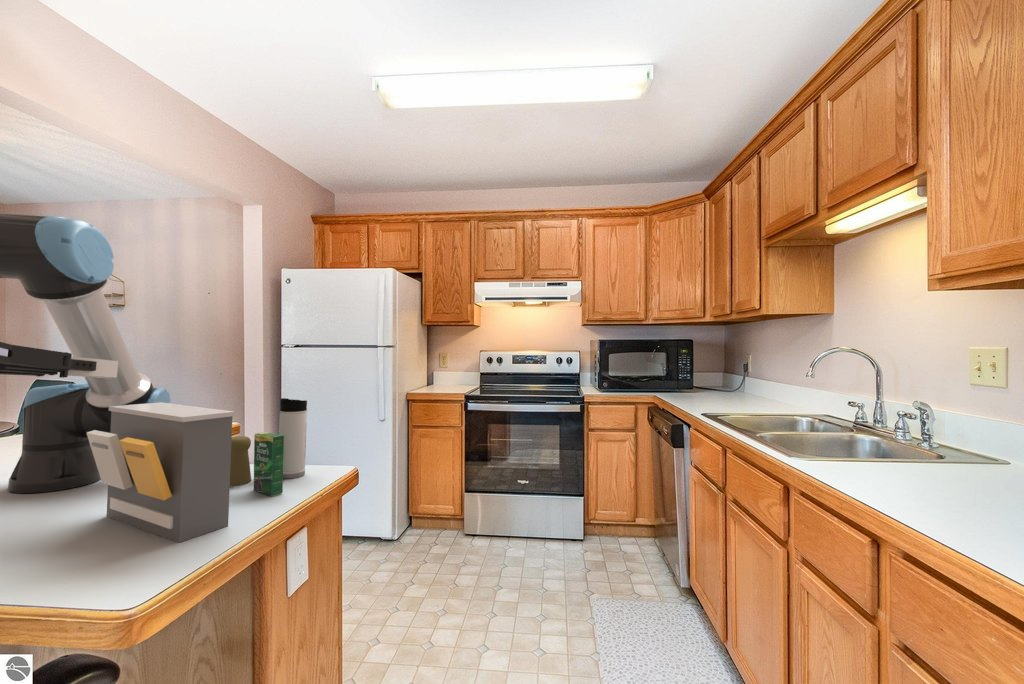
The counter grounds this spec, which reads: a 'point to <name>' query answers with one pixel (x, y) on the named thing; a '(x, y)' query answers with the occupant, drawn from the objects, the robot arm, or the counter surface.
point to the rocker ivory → (109, 459)
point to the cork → (240, 461)
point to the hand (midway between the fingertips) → (114, 369)
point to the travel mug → (293, 436)
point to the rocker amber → (145, 468)
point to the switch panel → (177, 469)
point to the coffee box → (268, 463)
